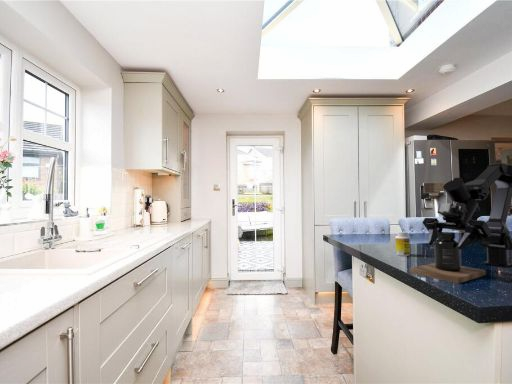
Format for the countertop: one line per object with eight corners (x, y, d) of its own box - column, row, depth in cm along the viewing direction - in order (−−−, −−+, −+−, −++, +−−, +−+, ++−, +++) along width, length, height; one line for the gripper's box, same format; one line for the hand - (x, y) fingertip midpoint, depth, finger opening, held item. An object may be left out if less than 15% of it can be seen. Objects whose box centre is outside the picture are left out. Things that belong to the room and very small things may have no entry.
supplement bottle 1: (405, 256, 116) (405, 232, 116) (393, 254, 120) (392, 231, 121) (412, 255, 119) (411, 232, 119) (400, 253, 124) (399, 231, 124)
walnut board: (438, 266, 99) (438, 262, 99) (485, 274, 87) (485, 270, 87) (409, 272, 90) (409, 268, 90) (458, 283, 78) (457, 278, 78)
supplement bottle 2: (465, 270, 87) (463, 232, 87) (453, 272, 84) (451, 234, 84) (442, 265, 93) (441, 230, 93) (430, 268, 90) (429, 231, 90)
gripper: (424, 195, 99) (405, 227, 94) (484, 194, 82) (464, 232, 77) (439, 216, 102) (420, 248, 97) (499, 219, 85) (481, 257, 80)
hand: (443, 246), depth 88 cm, fingers open, 9 cm apart
